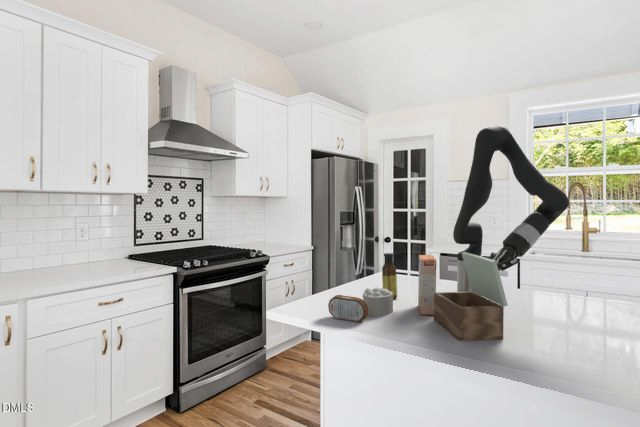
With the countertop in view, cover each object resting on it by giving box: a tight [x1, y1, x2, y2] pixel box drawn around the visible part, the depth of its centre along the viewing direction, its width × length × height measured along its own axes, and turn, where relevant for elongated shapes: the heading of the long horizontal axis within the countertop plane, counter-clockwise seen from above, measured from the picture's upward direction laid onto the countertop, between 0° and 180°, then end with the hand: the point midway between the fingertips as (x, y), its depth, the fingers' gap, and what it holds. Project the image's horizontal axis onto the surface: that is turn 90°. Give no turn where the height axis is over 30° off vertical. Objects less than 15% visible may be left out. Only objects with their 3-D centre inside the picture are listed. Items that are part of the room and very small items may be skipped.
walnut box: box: [433, 291, 505, 342], centre depth 127 cm, size 14×20×10 cm
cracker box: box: [417, 254, 437, 316], centre depth 149 cm, size 14×6×21 cm, turn 168°
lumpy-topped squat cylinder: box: [362, 287, 394, 318], centre depth 148 cm, size 10×13×9 cm
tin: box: [327, 294, 368, 323], centre depth 138 cm, size 15×3×8 cm, turn 59°
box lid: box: [462, 252, 508, 307], centre depth 127 cm, size 14×21×2 cm
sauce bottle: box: [381, 252, 398, 300], centre depth 168 cm, size 6×6×20 cm
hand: (486, 276), depth 127 cm, fingers closed
